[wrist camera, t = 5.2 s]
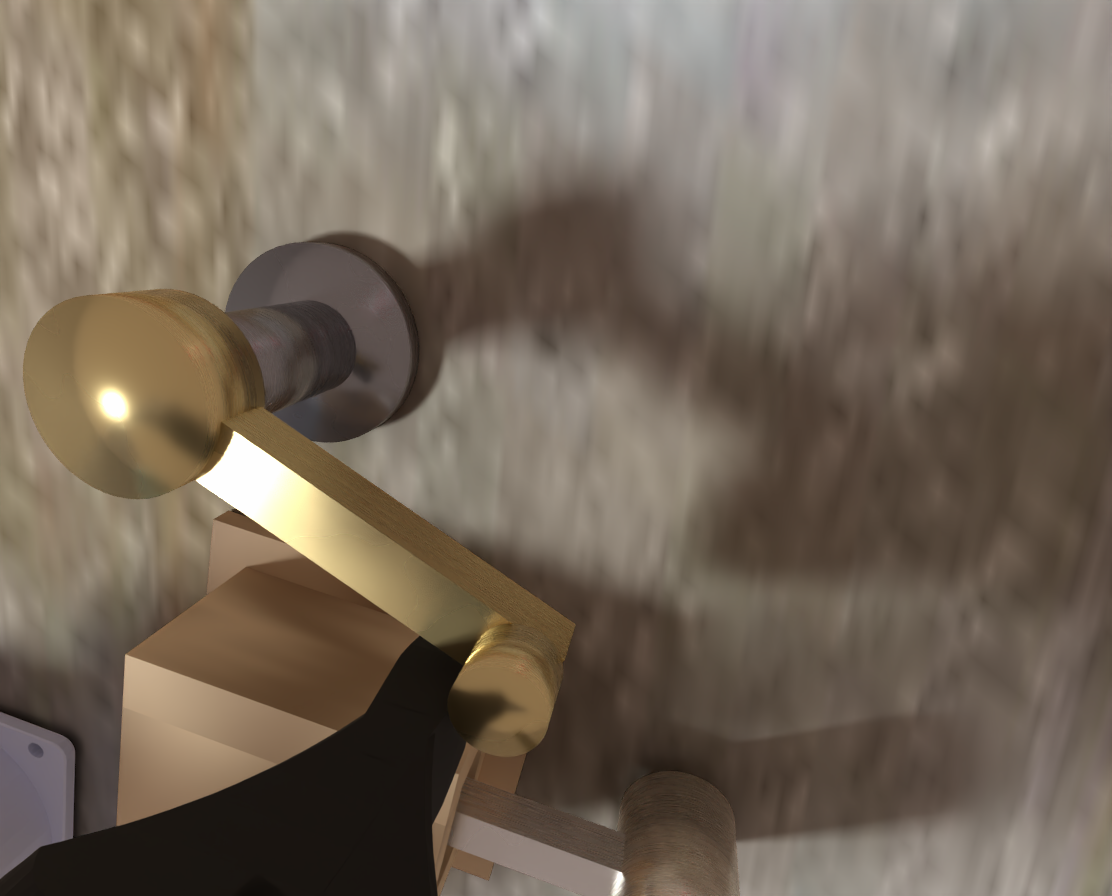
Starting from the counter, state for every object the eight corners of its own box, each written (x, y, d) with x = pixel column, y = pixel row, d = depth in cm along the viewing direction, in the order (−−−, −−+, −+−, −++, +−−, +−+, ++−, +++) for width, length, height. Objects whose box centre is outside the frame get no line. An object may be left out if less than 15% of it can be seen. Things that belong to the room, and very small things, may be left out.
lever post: (231, 405, 17) (75, 460, 13) (250, 219, 15) (80, 211, 11) (400, 458, 16) (297, 534, 12) (435, 271, 15) (333, 283, 11)
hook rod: (199, 692, 19) (35, 842, 14) (207, 606, 18) (35, 734, 13) (713, 878, 17) (721, 1114, 13) (751, 795, 16) (773, 1016, 12)
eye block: (204, 753, 20) (73, 889, 16) (228, 510, 18) (81, 595, 13) (494, 861, 19) (438, 1036, 15) (565, 621, 17) (522, 750, 12)
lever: (77, 402, 12) (-55, 437, 10) (136, 251, 11) (3, 252, 9) (520, 710, 12) (483, 808, 10) (620, 587, 11) (603, 668, 9)
